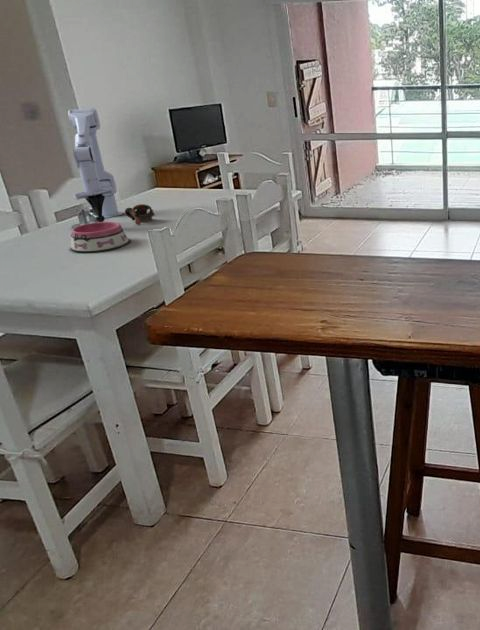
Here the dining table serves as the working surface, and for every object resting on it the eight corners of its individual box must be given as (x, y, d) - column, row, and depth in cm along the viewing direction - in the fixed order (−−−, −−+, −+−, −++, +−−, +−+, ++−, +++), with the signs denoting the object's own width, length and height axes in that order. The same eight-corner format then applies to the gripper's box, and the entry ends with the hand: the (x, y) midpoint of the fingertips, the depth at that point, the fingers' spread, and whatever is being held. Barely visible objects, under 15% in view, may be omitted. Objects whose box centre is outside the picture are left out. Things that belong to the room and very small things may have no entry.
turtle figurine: (159, 219, 240) (157, 204, 234) (151, 234, 234) (148, 219, 228) (130, 213, 239) (127, 198, 233) (121, 228, 233) (117, 213, 227)
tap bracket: (107, 226, 231) (102, 206, 228) (85, 231, 224) (80, 211, 221) (94, 223, 236) (89, 204, 233) (72, 228, 229) (66, 208, 226)
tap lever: (106, 222, 224) (105, 214, 223) (99, 223, 222) (98, 216, 220) (88, 214, 230) (87, 207, 229) (81, 215, 228) (79, 208, 226)
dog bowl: (140, 239, 211) (136, 221, 208) (102, 254, 195) (97, 235, 192) (99, 236, 216) (95, 219, 213) (59, 251, 199) (53, 232, 197)
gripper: (76, 183, 209) (86, 220, 215) (114, 177, 220) (122, 211, 226) (66, 181, 213) (76, 217, 218) (104, 175, 224) (112, 210, 229)
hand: (99, 214), depth 222 cm, fingers closed, pressing on tap lever
